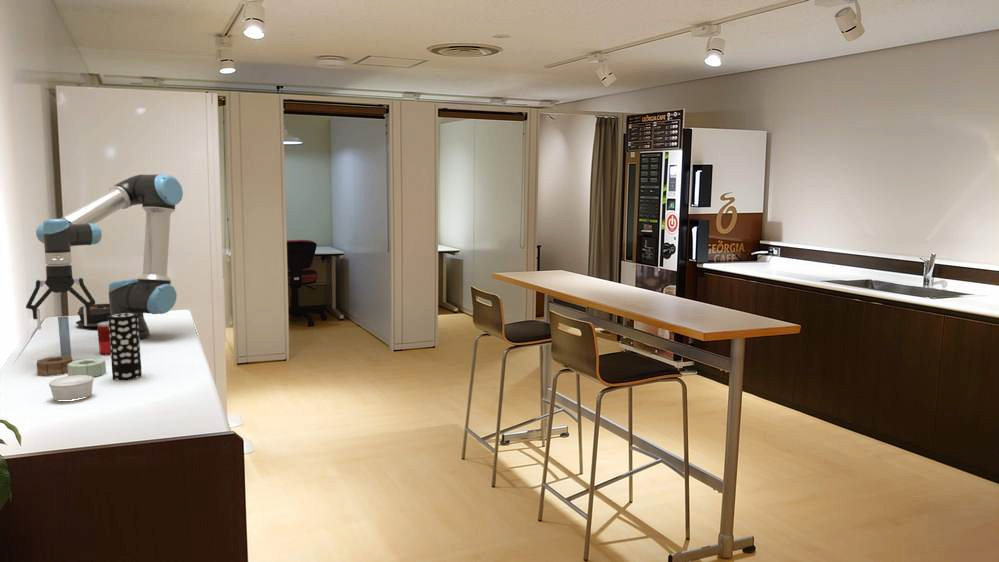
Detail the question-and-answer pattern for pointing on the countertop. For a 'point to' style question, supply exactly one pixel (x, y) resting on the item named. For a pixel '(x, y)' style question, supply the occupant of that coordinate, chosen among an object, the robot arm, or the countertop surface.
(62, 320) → the dowel
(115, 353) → the spotted tube
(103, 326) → the canned food
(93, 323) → the casserole
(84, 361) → the sage bead
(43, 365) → the walnut bead
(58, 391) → the ramekin
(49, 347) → the countertop surface
